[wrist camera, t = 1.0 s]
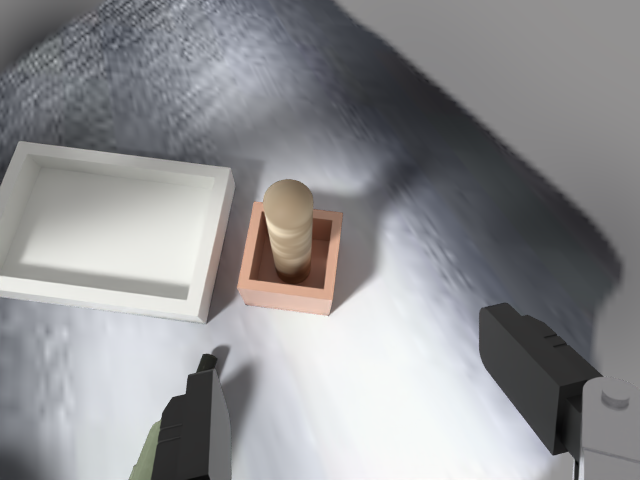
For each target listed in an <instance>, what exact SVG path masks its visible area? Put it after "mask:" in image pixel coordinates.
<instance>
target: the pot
mask: <svg viewBox="0 0 640 480" xmlns="http://www.w3.org/2000/svg"><path fill="white" fill-rule="evenodd" d="M342 218H343V213H341V212H333V211H325V210H317V209H313V224H312V248H311V270H310V273H309V275H308V277H307V278H306V279H305V280H304V281H303V282H301V283H298V284H288V283H285V282H283V281H282V280H281V279H280V278H279V277H278V275H277V273H276V268H275V263H274V258H273V253H272V248H271V242H270V237H269V232H268V227H267V222H266V217H265V212H264V207H263V202H255V201H254V204H253V209H252V214H251V219H250V224H249V229H248V234H247V239H246V245H245V250H244V255H243V260H242V265H241V270H240V275H239V280H238V286H237V289H238V291H239V293H240V294H241V296H242V298H243V300H244V302H245V304H246V305H251V306H259V307H266V308H274V309H281V310H289V311H297V312H304V313H312V314H319V315H327V316H329V313H330V309H331V305H332V301H333V293H334V285H335V276H336V268H337V260H338V251H339V243H340V234H341V226H342Z"/></svg>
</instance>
